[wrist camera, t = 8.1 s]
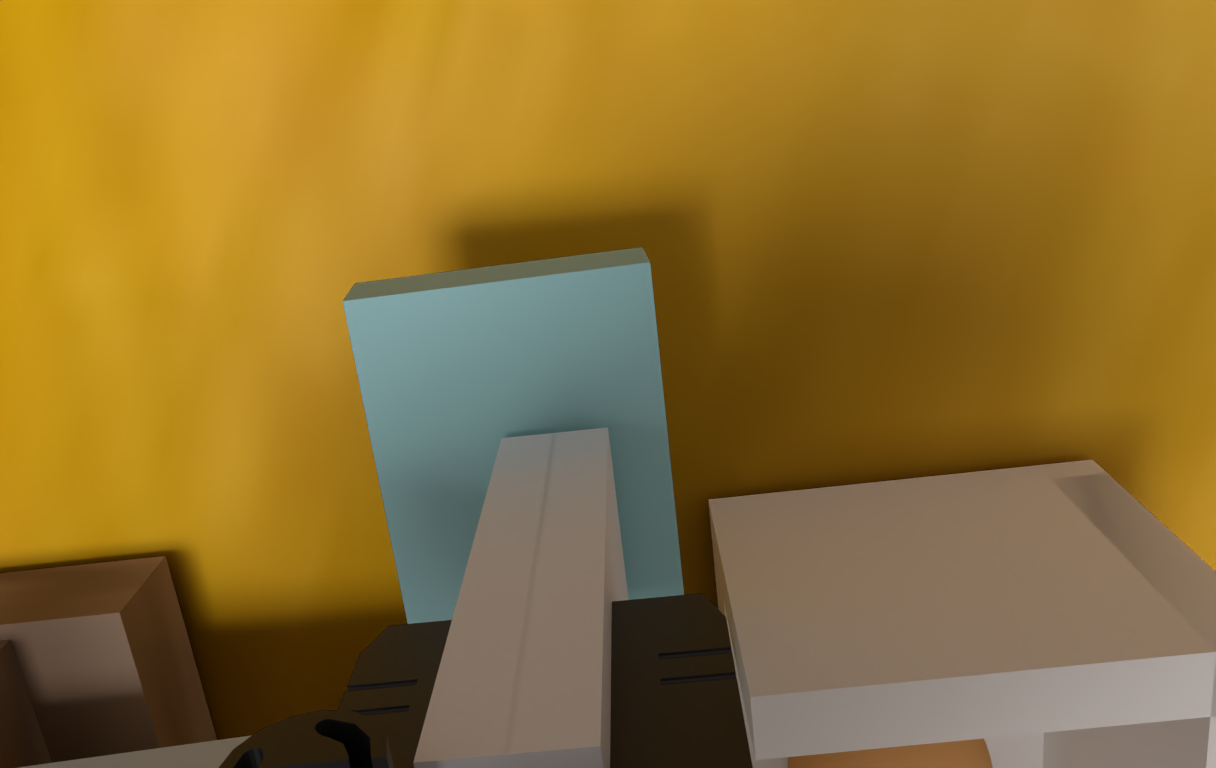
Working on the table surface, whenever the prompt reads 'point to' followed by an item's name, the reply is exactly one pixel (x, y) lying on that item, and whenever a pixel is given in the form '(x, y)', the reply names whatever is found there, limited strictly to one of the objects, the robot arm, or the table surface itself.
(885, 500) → the bin
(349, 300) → the lever
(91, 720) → the brown recessed block
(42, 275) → the table surface
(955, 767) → the ball
